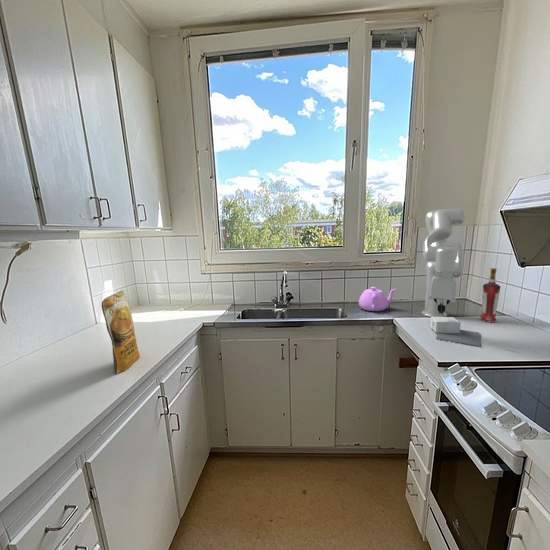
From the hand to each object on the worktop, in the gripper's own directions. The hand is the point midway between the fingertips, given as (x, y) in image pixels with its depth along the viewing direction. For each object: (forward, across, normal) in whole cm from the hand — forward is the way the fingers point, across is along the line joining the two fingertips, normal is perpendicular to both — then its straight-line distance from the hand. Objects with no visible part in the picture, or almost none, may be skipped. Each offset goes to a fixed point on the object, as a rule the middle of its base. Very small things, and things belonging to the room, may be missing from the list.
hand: (441, 312), depth 135 cm
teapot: (+10, +36, -27) cm, 46 cm away
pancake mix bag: (+10, +100, +97) cm, 140 cm away
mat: (+10, -8, +1) cm, 12 cm away
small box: (+6, +3, -1) cm, 7 cm away
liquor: (+10, -20, -32) cm, 40 cm away
